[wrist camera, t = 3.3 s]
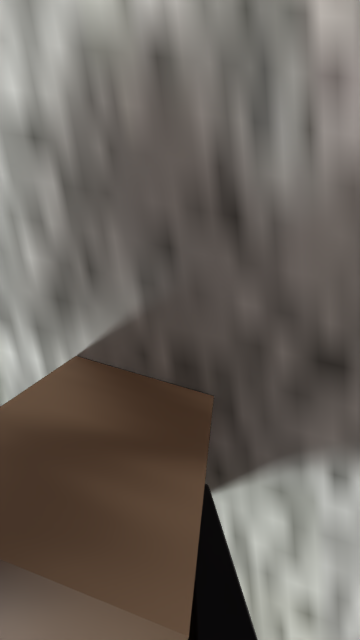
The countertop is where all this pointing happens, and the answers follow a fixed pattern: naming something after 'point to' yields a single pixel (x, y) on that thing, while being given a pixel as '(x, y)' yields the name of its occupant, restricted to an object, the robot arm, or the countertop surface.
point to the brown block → (100, 505)
